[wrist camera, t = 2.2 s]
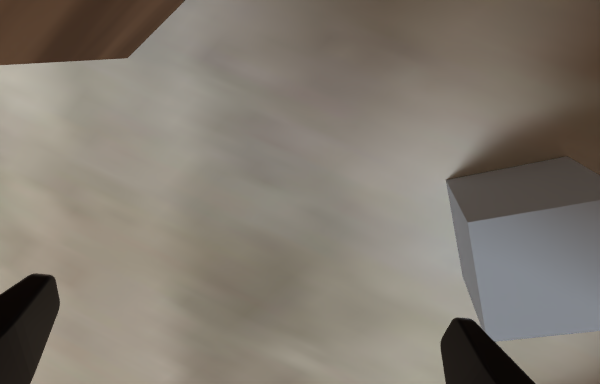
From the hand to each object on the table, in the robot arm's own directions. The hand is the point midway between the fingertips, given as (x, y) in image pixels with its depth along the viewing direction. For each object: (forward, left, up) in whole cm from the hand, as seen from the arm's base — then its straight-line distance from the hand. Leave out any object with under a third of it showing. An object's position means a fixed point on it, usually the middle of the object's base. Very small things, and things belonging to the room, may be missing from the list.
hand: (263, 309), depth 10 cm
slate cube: (-3, -9, -11) cm, 14 cm away
